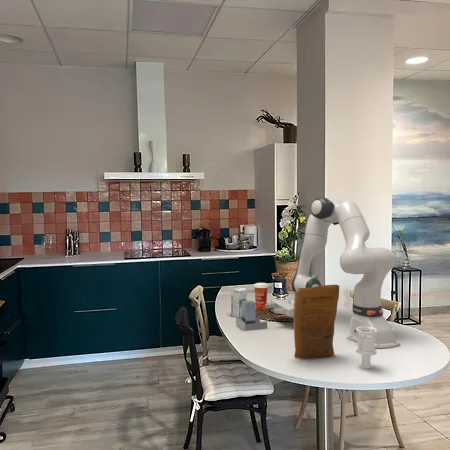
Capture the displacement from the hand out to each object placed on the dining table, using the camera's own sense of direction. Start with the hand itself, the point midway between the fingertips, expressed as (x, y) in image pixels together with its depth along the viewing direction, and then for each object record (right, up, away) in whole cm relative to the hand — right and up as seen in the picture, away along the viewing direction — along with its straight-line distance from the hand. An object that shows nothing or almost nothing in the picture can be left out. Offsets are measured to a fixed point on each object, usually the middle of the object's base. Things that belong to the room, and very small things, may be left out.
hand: (269, 308), depth 210 cm
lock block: (-10, -8, -3) cm, 13 cm away
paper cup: (-2, -6, +30) cm, 30 cm away
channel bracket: (-9, -8, -2) cm, 12 cm away
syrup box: (-14, -7, +16) cm, 23 cm away
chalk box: (+31, -4, +65) cm, 72 cm away
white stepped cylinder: (+29, -11, -52) cm, 60 cm away
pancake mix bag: (+13, -11, -41) cm, 44 cm away
